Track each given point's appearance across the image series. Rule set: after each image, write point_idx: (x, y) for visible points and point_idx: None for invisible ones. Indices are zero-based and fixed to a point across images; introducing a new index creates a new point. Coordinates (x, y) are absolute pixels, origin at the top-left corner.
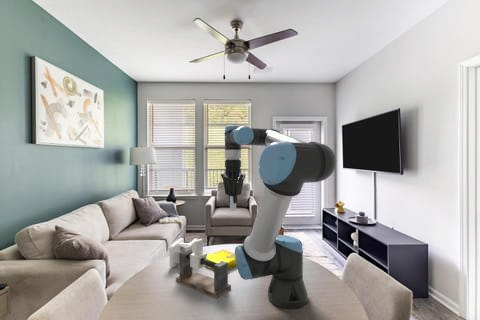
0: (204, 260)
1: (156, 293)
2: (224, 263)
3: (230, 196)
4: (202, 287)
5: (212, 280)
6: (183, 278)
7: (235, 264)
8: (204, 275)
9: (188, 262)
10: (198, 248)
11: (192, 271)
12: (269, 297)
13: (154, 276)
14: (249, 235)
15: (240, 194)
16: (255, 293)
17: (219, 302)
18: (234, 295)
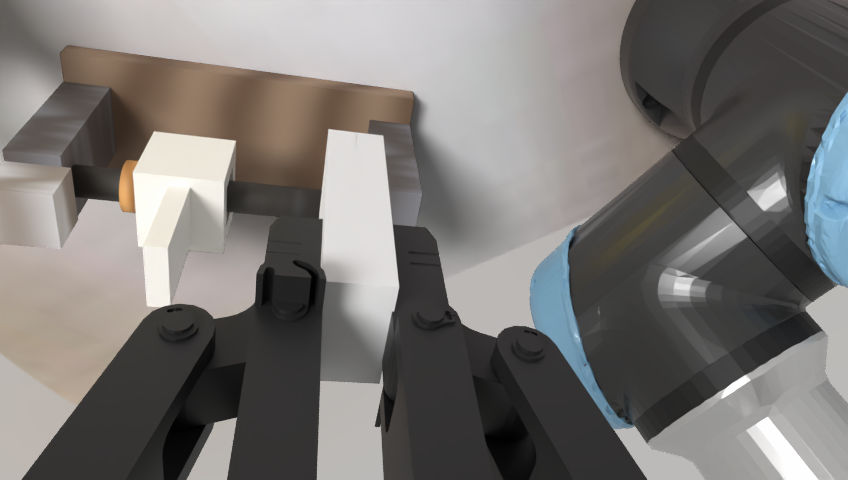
0: (253, 212)
1: (120, 278)
2: (411, 214)
3: (323, 379)
4: (293, 186)
5: (289, 104)
6: (124, 160)
7: None
8: (201, 74)
9: (88, 156)
10: (181, 250)
11: (86, 64)
12: (639, 109)
13: None
14: (687, 430)
15: (539, 338)
16: (552, 74)
17: (422, 210)
18: (459, 137)
